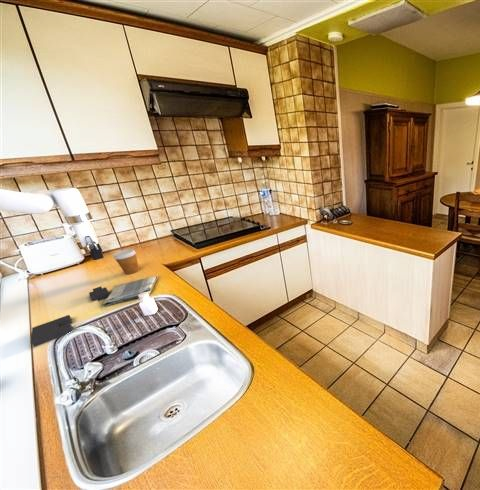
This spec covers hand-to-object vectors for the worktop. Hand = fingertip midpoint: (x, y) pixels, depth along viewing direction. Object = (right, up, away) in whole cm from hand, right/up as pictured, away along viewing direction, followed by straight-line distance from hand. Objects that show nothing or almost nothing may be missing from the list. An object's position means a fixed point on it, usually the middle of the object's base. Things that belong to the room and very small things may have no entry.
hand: (98, 255), depth 116 cm
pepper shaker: (+26, -24, -3) cm, 36 cm away
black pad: (-10, -20, +11) cm, 25 cm away
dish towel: (+4, -18, +13) cm, 23 cm away
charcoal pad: (-4, -30, -13) cm, 33 cm away
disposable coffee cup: (-14, -10, +33) cm, 37 cm away
